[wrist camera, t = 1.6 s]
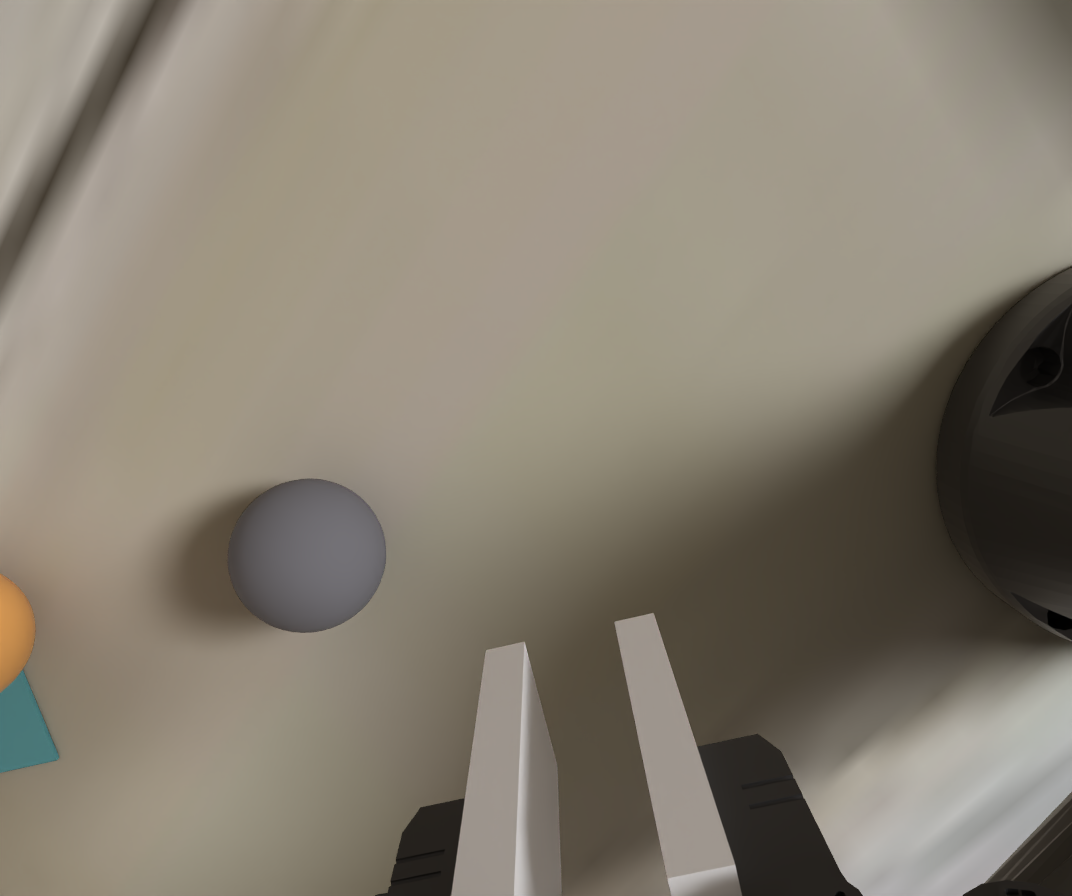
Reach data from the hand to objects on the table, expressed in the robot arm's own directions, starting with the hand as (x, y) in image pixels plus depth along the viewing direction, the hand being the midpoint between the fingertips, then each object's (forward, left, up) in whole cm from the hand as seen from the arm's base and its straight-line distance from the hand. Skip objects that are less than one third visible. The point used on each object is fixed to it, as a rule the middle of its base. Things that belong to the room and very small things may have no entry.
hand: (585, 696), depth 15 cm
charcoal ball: (+10, 0, -14) cm, 17 cm away
